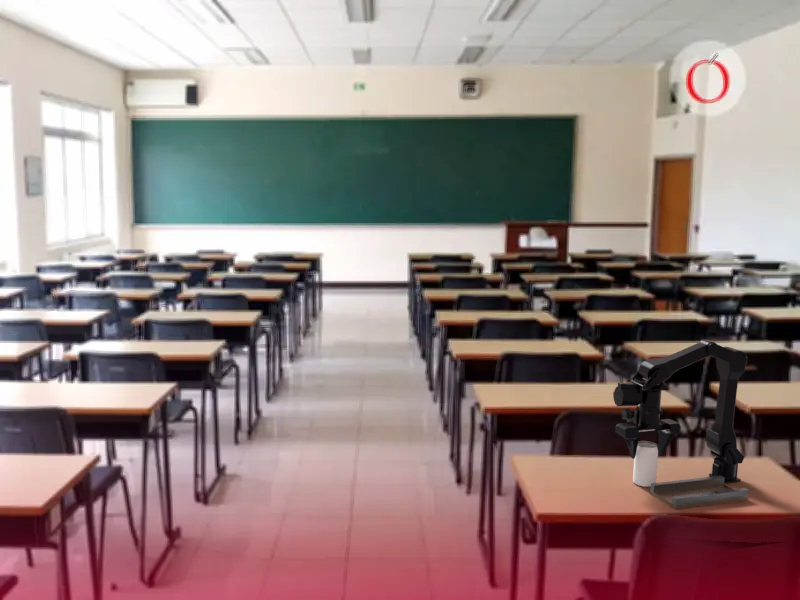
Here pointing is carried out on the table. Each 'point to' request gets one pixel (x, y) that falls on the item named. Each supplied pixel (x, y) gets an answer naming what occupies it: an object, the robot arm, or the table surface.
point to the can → (645, 464)
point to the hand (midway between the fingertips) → (646, 456)
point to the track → (697, 492)
